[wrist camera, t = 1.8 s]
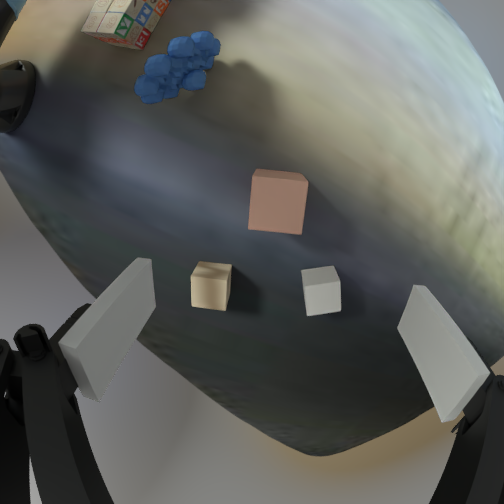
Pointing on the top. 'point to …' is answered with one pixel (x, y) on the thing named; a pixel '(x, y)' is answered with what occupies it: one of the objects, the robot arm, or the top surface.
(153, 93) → the grapes
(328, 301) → the off-white plastic block
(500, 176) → the top surface
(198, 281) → the maple block
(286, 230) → the terracotta block
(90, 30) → the stack of blocks
